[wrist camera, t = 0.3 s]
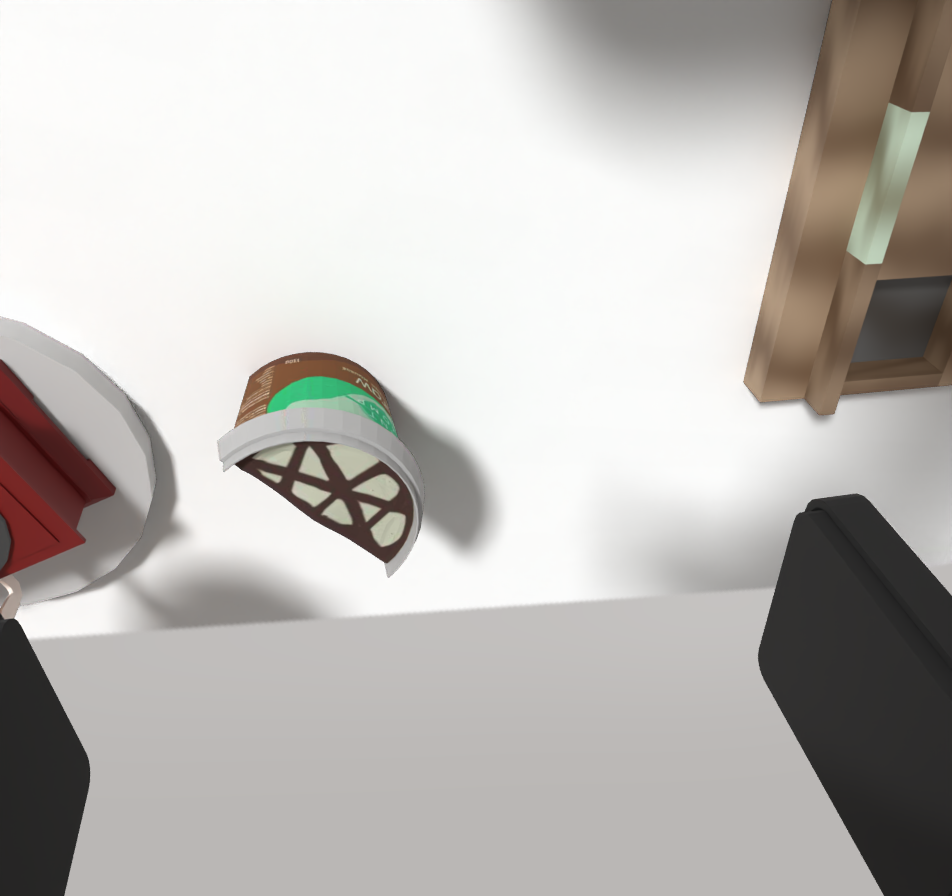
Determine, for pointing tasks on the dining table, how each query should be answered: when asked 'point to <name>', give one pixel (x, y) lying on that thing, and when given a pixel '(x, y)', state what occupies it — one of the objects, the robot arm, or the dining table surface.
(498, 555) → the dining table surface
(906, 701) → the robot arm
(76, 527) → the gramophone
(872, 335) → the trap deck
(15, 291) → the dining table surface
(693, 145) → the dining table surface
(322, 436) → the food container
